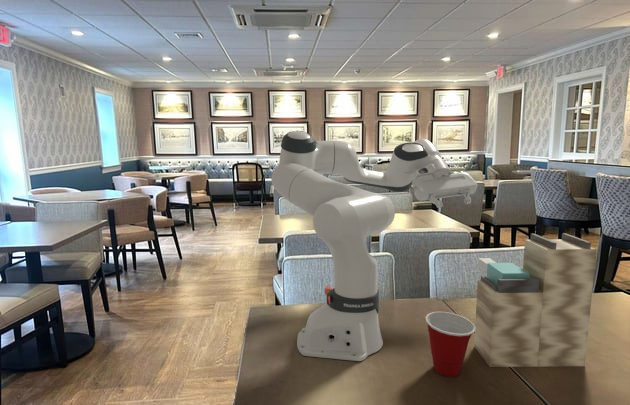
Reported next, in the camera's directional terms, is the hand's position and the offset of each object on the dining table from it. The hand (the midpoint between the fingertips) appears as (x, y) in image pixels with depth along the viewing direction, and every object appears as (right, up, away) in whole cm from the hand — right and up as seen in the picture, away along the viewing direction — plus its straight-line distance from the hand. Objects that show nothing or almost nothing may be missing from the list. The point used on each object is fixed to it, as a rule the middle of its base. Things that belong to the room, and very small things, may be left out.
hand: (454, 204), depth 121 cm
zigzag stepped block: (+8, -37, -27) cm, 46 cm away
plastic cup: (-13, -38, -32) cm, 52 cm away
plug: (+2, -18, -24) cm, 30 cm away
